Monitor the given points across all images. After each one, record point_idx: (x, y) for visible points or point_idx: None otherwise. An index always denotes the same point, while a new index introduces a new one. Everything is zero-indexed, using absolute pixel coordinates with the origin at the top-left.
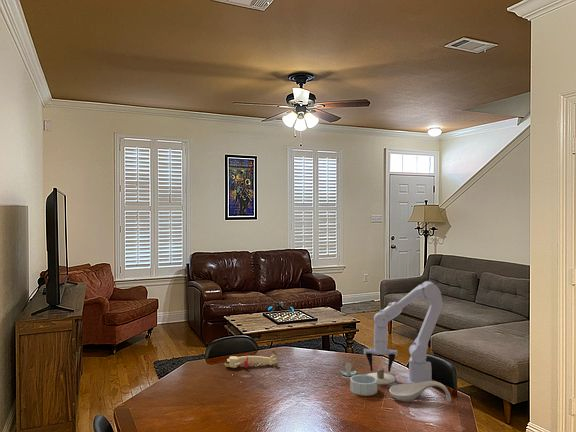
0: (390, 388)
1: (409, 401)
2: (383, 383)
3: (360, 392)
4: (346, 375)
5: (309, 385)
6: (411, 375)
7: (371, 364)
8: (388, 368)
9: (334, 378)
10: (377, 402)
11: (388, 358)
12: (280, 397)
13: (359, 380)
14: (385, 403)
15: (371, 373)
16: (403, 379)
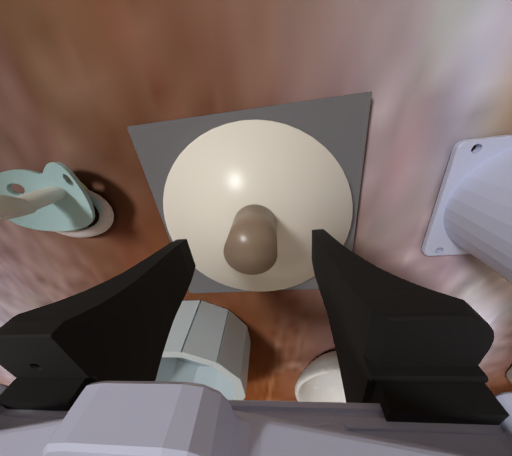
0: (300, 386)
1: None
2: (273, 288)
3: (196, 374)
4: (61, 229)
5: (3, 315)
6: (480, 257)
7: (170, 316)
8: (316, 268)
9: (27, 238)
10: (255, 385)
11: (346, 294)
12: (10, 378)
13: None
14: (278, 388)
15: (186, 158)
16: (410, 177)
